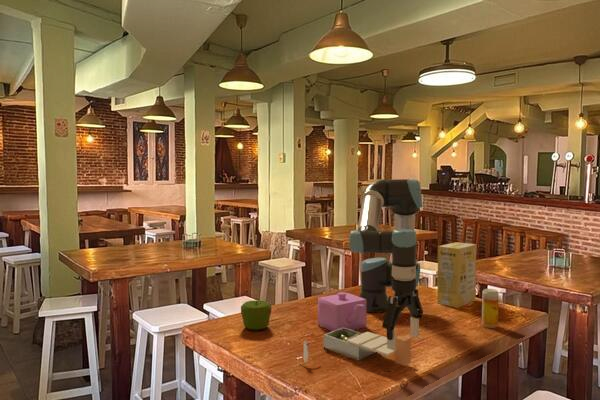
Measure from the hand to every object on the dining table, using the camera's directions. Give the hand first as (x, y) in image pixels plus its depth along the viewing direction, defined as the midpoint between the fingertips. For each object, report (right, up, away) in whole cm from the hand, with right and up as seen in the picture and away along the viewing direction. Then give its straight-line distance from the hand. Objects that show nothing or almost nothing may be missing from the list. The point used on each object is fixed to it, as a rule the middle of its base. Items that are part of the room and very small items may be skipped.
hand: (403, 342), depth 143 cm
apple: (-51, -7, +39) cm, 65 cm away
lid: (-6, -6, +6) cm, 10 cm away
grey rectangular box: (-15, -8, +15) cm, 23 cm away
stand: (-30, -9, +4) cm, 32 cm away
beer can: (+45, -6, +40) cm, 60 cm away
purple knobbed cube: (-15, -7, +40) cm, 43 cm away
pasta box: (+44, -4, +75) cm, 87 cm away
